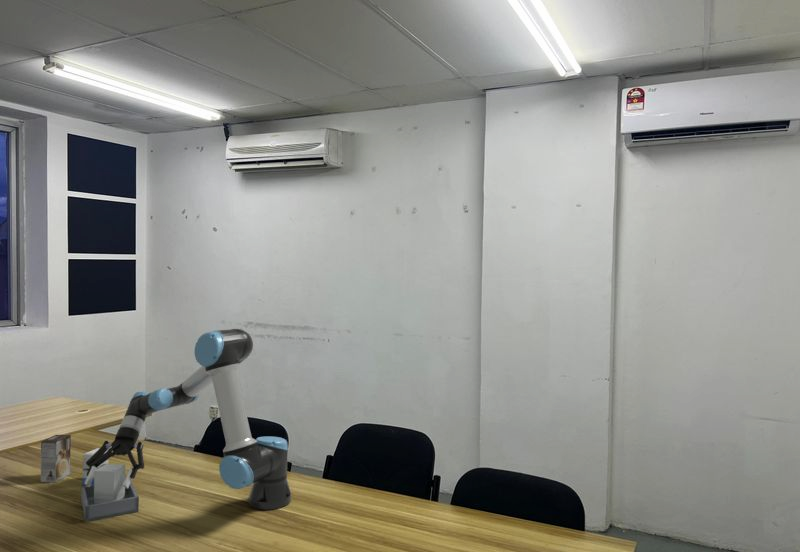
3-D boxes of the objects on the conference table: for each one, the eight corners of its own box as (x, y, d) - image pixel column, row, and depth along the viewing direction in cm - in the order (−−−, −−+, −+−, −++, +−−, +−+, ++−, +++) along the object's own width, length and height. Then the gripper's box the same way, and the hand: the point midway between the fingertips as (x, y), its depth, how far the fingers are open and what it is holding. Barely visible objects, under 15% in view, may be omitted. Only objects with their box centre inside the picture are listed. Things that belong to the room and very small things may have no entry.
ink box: (92, 485, 213) (93, 455, 213) (81, 484, 214) (82, 454, 214) (108, 477, 221) (109, 448, 221) (97, 476, 222) (98, 447, 222)
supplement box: (125, 499, 198) (126, 464, 198) (113, 508, 191) (114, 471, 191) (105, 498, 199) (106, 463, 199) (92, 506, 192) (93, 470, 192)
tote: (138, 511, 191) (138, 497, 191) (85, 522, 182) (85, 507, 182) (130, 491, 208) (130, 478, 208) (80, 500, 199) (81, 486, 199)
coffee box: (54, 473, 224) (55, 434, 224) (70, 474, 224) (71, 434, 224) (39, 482, 215) (40, 440, 215) (56, 482, 215) (57, 441, 215)
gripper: (165, 436, 210) (145, 492, 195) (100, 434, 211) (75, 489, 196) (159, 426, 205) (138, 482, 190) (92, 424, 205) (66, 480, 191)
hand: (106, 486), depth 193 cm, fingers open, 13 cm apart
